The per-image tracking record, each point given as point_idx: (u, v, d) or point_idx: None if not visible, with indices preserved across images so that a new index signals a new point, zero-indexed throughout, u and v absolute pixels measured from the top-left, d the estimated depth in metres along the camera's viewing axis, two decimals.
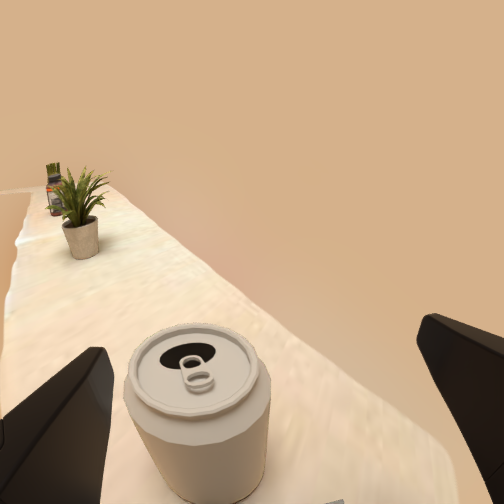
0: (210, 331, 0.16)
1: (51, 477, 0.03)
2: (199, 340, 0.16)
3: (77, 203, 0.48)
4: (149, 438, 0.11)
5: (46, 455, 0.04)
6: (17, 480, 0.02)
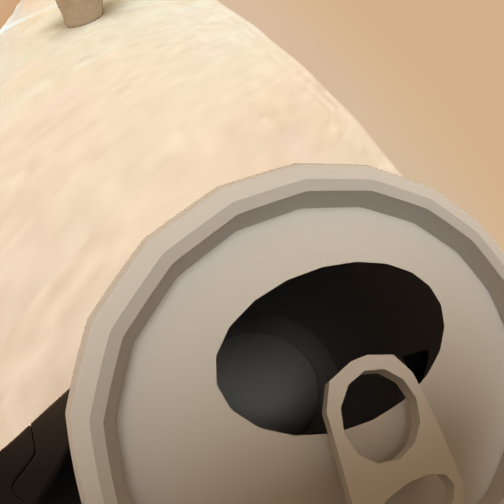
0: (420, 216, 0.04)
1: None
2: (383, 252, 0.04)
3: None
4: None
5: None
6: (54, 491, 0.03)
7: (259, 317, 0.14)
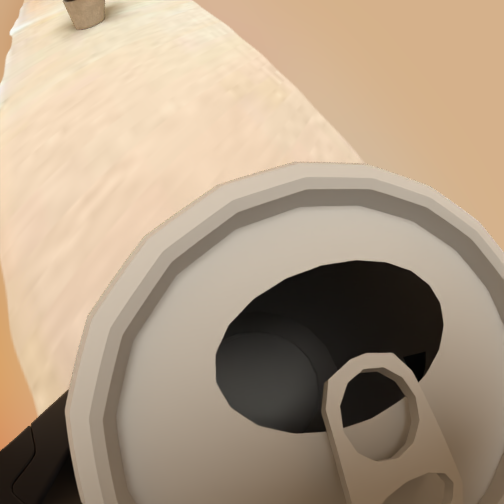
0: (420, 215, 0.04)
1: None
2: (383, 250, 0.04)
3: None
4: None
5: None
6: (54, 491, 0.03)
7: (259, 316, 0.14)
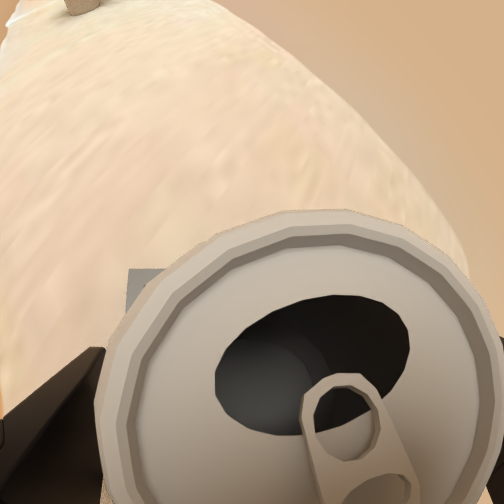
0: (394, 252, 0.04)
1: (51, 477, 0.03)
2: (357, 285, 0.04)
3: None
4: None
5: (46, 455, 0.04)
6: (17, 480, 0.02)
7: (258, 324, 0.15)
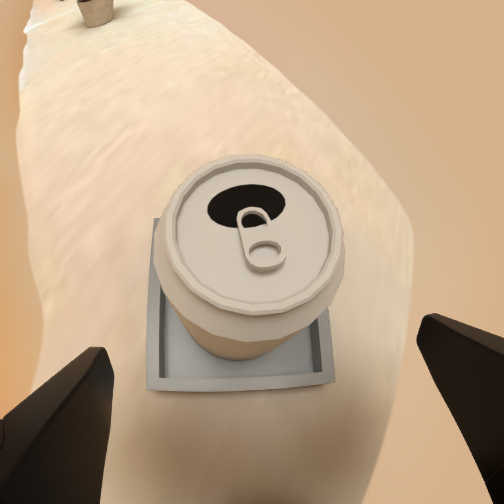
0: (279, 170, 0.12)
1: (51, 477, 0.03)
2: (263, 181, 0.12)
3: None
4: (186, 320, 0.11)
5: (46, 455, 0.04)
6: (17, 480, 0.02)
7: None
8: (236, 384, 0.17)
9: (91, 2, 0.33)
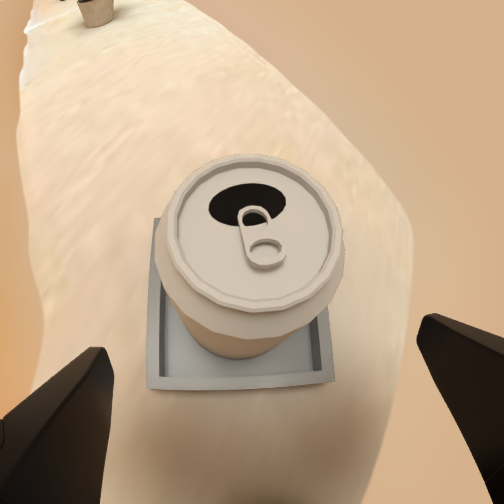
0: (280, 169, 0.12)
1: (51, 477, 0.03)
2: (264, 180, 0.12)
3: None
4: (187, 318, 0.11)
5: (46, 455, 0.04)
6: (17, 480, 0.02)
7: None
8: (236, 383, 0.17)
9: (91, 2, 0.33)
